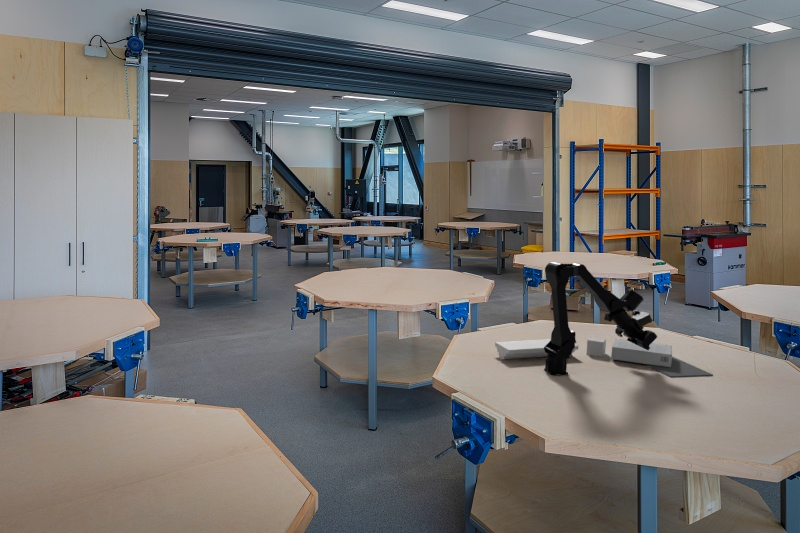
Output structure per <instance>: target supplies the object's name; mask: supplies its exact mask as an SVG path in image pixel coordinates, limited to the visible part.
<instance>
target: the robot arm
mask: <svg viewBox="0 0 800 533" xmlns="http://www.w3.org/2000/svg"><path fill="white" fill-rule="evenodd" d="M544 272H545V277H546V280H547V283H548V284H549V287H550V288H551V298H552V299H551V301H552V311H553V312H552V313H553V325H554V326H553V329H552V330H551V334H550V339H551V340H550V342H549V343H548V344H547V345H546V346H545V347H544V350H545V353H548V354H547V357H546V358H545V360H544V361H545V364H544V371H545V372H546V373H548V374H550V375H551V376H559V375H564V376H565V375H569V372H568V371H567V369H568V368H567V366H568V365H567V364H568V359H570V357H571V353H572V350H573V349H574V348H575V344H577V340H576V331H574V330H572V329H570V326H569V317H568V316H569V314H568V301H567V285H568V284H569V281H570V278H574V277H576V278H577V279H578V280H579V282H580V283H581V284H582V285H583V286H584V287H585V288H586V289H587V291H589V293H591V295H592V297H593V299H594V300H593V301H594V302H595V304H596V305H597V307H598V308H599V309H601V310H604V311H606V312H607V313H606V312H605V313H604V316H603V317H604V319H603V320H604V321H606V322H613V323H615V325H616V328H615V329H614V333H615V334H616V335H617V336H618V337H620V338H623V336H624V337H626V340H627V341H630V342H632V343H634V344H636V345H638V346H640V347H642V348H644V349H646V350H649V349H650V347H649V345H650V344H651V343H654V342H655V340H656V339H657V338H658V334H656V333H655V332H654V331H652V330H649V329H648V330H647V329H646V330H644V328H645V327H644V326H646V325H648V324H651V323H652V322H653V320H652V317H651V313H649V312H646V311H639V310H638V309H637V308H638V307H639V306H640V305H641V303H643V302H644V298H643V296H642V295H640V294H639V293H638V292H636V291H635V290H634V289H632V288H628V289H627V290H626V291H625V293H624V294H623V295H622V296H621V297H620V298H619V297H618V296H617V295H616V294H614V293H612V292H610V291H608V290H607V289H605V287H603V285H602V284H601V283H600V281H598V280H597V279H596V278H595V276H594V275H593V274H592V273H591V271H589V270H588V269H587V267H586V265H584V264H581V263H577V262H576V263H575V262H574V263H562V262H558V261H557V262H556V261H551V262H550V261H549V263H547V264H546V266H545V268H544ZM636 309H637V310H636ZM629 312H631V315H630V314H629ZM558 350H559V351H558ZM572 354H573V353H572Z"/></svg>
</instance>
